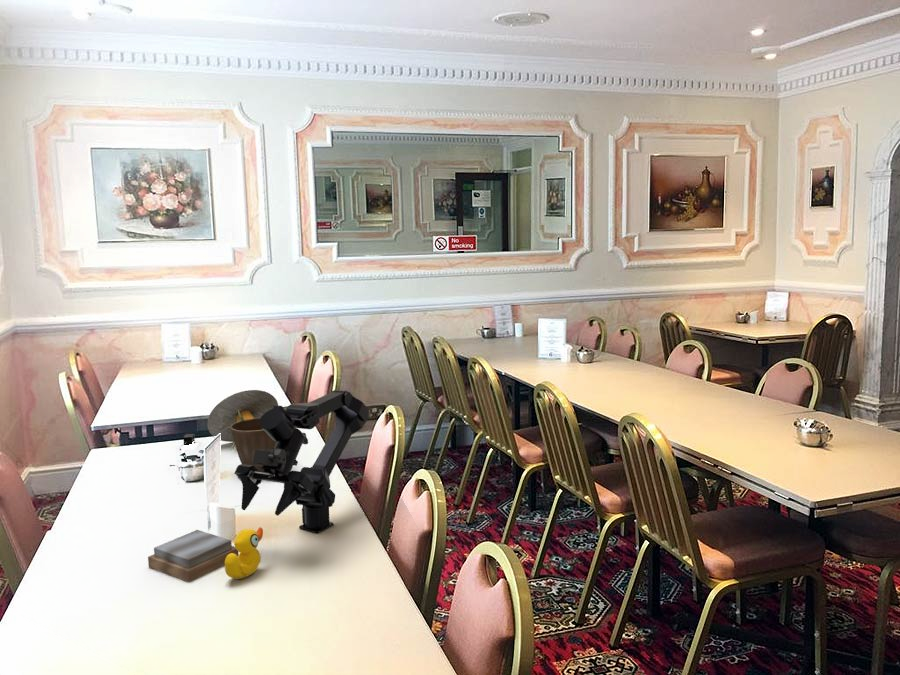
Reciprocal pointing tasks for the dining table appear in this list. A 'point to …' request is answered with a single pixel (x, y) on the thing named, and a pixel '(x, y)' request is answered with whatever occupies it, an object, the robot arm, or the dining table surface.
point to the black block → (189, 439)
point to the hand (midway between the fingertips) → (259, 512)
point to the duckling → (244, 554)
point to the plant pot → (250, 440)
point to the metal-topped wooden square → (191, 555)
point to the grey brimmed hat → (238, 411)
